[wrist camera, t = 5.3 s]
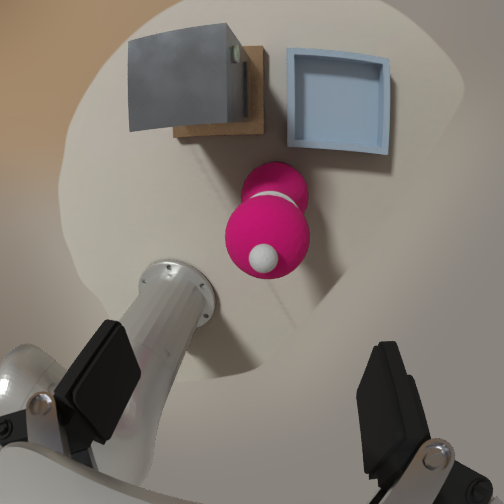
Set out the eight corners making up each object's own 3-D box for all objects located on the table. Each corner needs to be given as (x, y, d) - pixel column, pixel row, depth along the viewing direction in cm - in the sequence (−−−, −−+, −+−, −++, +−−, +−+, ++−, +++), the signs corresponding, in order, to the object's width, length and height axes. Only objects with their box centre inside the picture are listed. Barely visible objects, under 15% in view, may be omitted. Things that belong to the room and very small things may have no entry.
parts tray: (381, 152, 31) (387, 155, 29) (287, 145, 32) (287, 146, 30) (382, 62, 26) (389, 59, 23) (286, 52, 27) (286, 47, 25)
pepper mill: (318, 183, 34) (349, 260, 16) (280, 225, 37) (270, 331, 19) (272, 145, 32) (251, 178, 15) (235, 190, 35) (180, 269, 18)
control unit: (264, 133, 32) (248, 142, 19) (176, 137, 33) (116, 151, 21) (263, 47, 27) (246, 5, 15) (174, 56, 28) (114, 30, 16)
